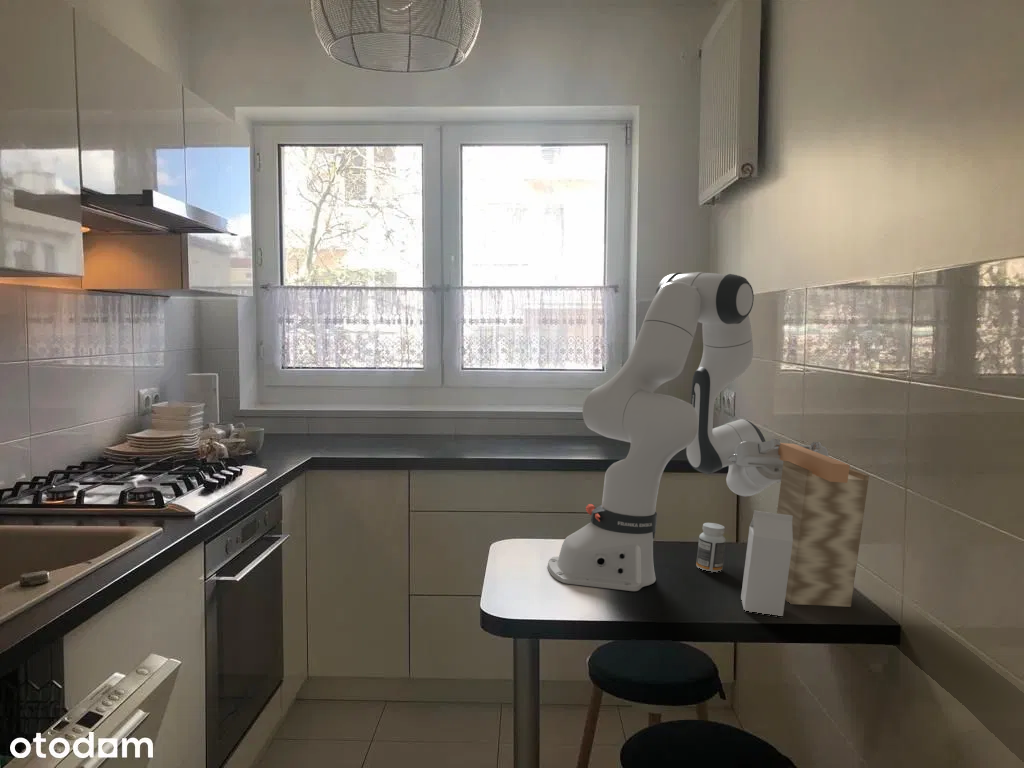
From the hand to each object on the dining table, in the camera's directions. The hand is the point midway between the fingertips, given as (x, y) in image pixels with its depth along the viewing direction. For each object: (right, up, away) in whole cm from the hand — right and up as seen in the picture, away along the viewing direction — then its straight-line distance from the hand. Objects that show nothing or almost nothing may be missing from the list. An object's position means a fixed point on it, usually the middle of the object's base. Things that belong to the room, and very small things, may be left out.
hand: (797, 443), depth 164 cm
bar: (0, -5, -6) cm, 8 cm away
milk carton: (-13, -31, -15) cm, 37 cm away
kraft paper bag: (0, -31, -5) cm, 32 cm away
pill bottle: (-17, -29, +7) cm, 34 cm away
